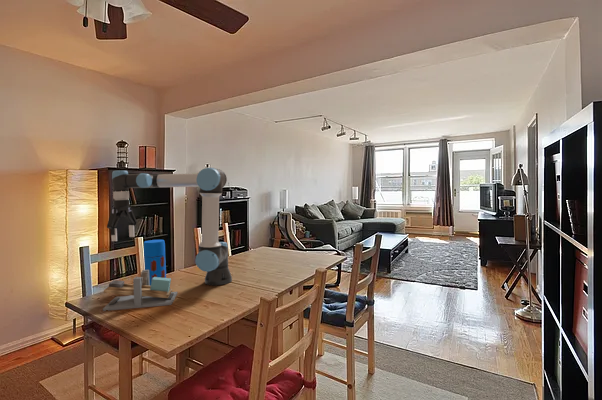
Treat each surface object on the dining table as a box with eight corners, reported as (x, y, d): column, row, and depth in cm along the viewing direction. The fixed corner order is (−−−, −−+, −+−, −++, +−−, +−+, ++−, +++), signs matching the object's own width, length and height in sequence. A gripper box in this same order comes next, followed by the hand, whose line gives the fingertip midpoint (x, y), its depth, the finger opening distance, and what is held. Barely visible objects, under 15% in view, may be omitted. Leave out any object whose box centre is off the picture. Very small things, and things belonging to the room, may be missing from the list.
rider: (169, 290, 160) (171, 278, 159) (167, 293, 155) (169, 280, 155) (152, 288, 158) (154, 276, 158) (150, 291, 154) (151, 279, 154)
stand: (177, 293, 166) (176, 267, 166) (171, 304, 150) (170, 276, 150) (116, 298, 160) (114, 271, 160) (102, 310, 144) (101, 281, 144)
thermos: (170, 283, 185) (168, 239, 184) (156, 288, 175) (154, 243, 174) (155, 281, 188) (153, 239, 187) (140, 287, 178) (139, 242, 177)
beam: (172, 290, 164) (174, 274, 163) (167, 298, 152) (170, 280, 152) (112, 285, 158) (115, 268, 158) (102, 293, 146) (105, 275, 146)
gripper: (130, 198, 185) (132, 235, 186) (97, 200, 160) (99, 243, 161) (142, 198, 184) (144, 235, 185) (110, 200, 159) (113, 242, 160)
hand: (123, 238), depth 173 cm, fingers open, 13 cm apart
